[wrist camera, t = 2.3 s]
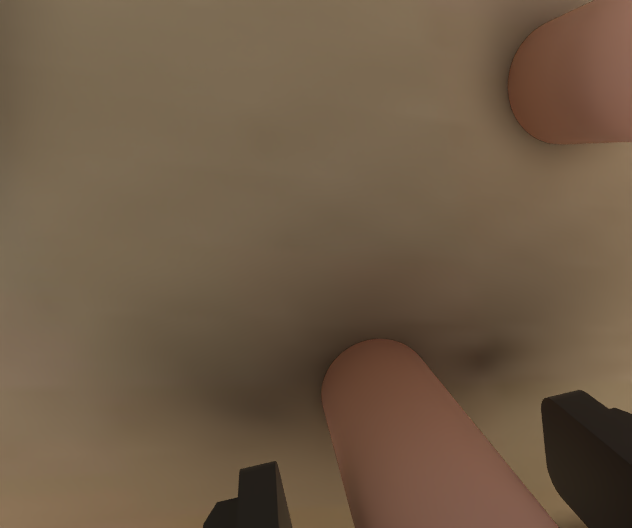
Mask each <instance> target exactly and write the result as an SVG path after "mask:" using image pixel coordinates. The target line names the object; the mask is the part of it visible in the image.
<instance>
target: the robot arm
mask: <svg viewBox="0 0 632 528" xmlns="http://www.w3.org/2000/svg"><path fill="white" fill-rule="evenodd" d="M541 413H542V423H543V433H544V443H545V453H546V463H547V468H548V472H549V475H550V478H551V481H552V483H553V485H554V487H555V489H556V490H557V492H558V493H559V495H560V496H561V497H562V499H563V500H564V501H565V502H566V503H567V504H568V505H569V506H570V508H571V509H572V510H573V511H574V512H575V513H576V514H577V515H578V517H579V518H580V519H581V520H582V521H583V522H584V523H585V524H586V526H587V527H588V528H632V414H630V413H628V412H625V411H622V410H619V409H617V408H612V409H608V408H607V407H605V406H604V405H602V404H601V403H600V402H598V401H597V400H595V399H594V398H593V397H591V396H590V395H589V394H587V393H586V392H584V391H582V390H577V391H573V392H569V393H564V394H560V395H556V396H552V397H547V398H544V399H543V401H542V404H541ZM203 528H292V524H291V519H290V515H289V511H288V507H287V502H286V498H285V494H284V489H283V485H282V481H281V476H280V472H279V468H278V465H277V462H276V461H273V462H269V463H264V464H260V465H256V466H252V467H247V468H243V469H240V472H239V488H238V497H237V498H233V499H229V500H225V501H221V502H217V503H216V505H215V507H214V508H213V510H212V511H211V513H210V514H209V516H208V518H207V519H206V521H205V522H204V525H203Z"/></svg>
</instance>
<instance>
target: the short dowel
mask: <svg viewBox="0 0 632 528" xmlns="http://www.w3.org/2000/svg"><path fill="white" fill-rule="evenodd" d="M508 95H509V102H510V105H511V108H512V111H513V113H514V115H515V117H516V119H517V121H518V122H519V124H520V125H521V126H522V127H523V128H524V129H525V130H526V131H527V132H528V133H529V134H530V135H532V136H533V137H535V138H537V139H539V140H541V141H543V142H547V143H551V144H584V143H609V142H632V0H594V1H592V2H590V3H588V4H585V5H583V6H581V7H579V8H577V9H575V10H573V11H570V12H568V13H566V14H564V15H562V16H560V17H557V18H555V19H553V20H551V21H549V22H547V23H545V24H543V25H541V26H540V27H538V28H537V29H536V30H534V31H533V32H532V33H531V34H530V35H529V36H528V37H527V38H526V39H525V40H524V41H523V43H522V44H521V45H520V47H519V49H518V50H517V52H516V54H515V56H514V59H513V61H512V64H511V67H510V72H509V77H508Z"/></svg>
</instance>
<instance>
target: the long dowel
mask: <svg viewBox="0 0 632 528" xmlns="http://www.w3.org/2000/svg"><path fill="white" fill-rule="evenodd" d="M321 398H322V405H323V409H324V413H325V416H326V420H327V424H328V428H329V432H330V435H331V439H332V443H333V447H334V450H335V454H336V458H337V462H338V466H339V469H340V473H341V477H342V481H343V485H344V488H345V492H346V496H347V500H348V503H349V507H350V511H351V515H352V519H353V522H354V526H355V528H559V527H558V525H557V524H556V523H555V522H554V521H553V519H552V518H551V517H550V516H549V514H548V513H547V512H546V511H545V509H544V508H543V507H542V506H541V505H540V503H539V502H538V501H537V500H536V498H535V497H534V496H533V495H532V494H531V492H530V491H529V490H528V489H527V487H526V486H525V485H524V484H523V482H522V481H521V480H520V479H519V478H518V476H517V475H516V474H515V473H514V471H513V470H512V469H511V468H510V467H509V465H508V464H507V463H506V462H505V460H504V459H503V458H502V457H501V455H500V454H499V453H498V452H497V451H496V449H495V448H494V447H493V446H492V444H491V443H490V442H489V441H488V440H487V438H486V437H485V436H484V435H483V433H482V432H481V431H480V430H479V429H478V427H477V426H476V425H475V424H474V422H473V421H472V420H471V419H470V417H469V416H468V415H467V414H466V413H465V411H464V410H463V409H462V408H461V406H460V405H459V404H458V403H457V402H456V400H455V399H454V398H453V397H452V395H451V394H450V393H449V392H448V390H447V389H446V388H445V387H444V386H443V384H442V383H441V382H440V381H439V379H438V378H437V377H436V376H435V375H434V373H433V372H432V371H431V370H430V368H429V367H428V366H427V365H426V364H425V362H424V361H423V360H422V359H421V357H420V356H419V355H418V354H417V353H416V352H415V351H414V350H412V349H411V348H410V347H408V346H406V345H405V344H403V343H400V342H397V341H394V340H389V339H371V340H366V341H363V342H360V343H357V344H355V345H353V346H351V347H349V348H348V349H346V350H345V351H343V352H342V353H341V354H340V355H339V356H338V357H337V358H336V359H335V360H334V361H333V363H332V364H331V365H330V367H329V369H328V370H327V372H326V375H325V377H324V380H323V384H322V390H321Z"/></svg>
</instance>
